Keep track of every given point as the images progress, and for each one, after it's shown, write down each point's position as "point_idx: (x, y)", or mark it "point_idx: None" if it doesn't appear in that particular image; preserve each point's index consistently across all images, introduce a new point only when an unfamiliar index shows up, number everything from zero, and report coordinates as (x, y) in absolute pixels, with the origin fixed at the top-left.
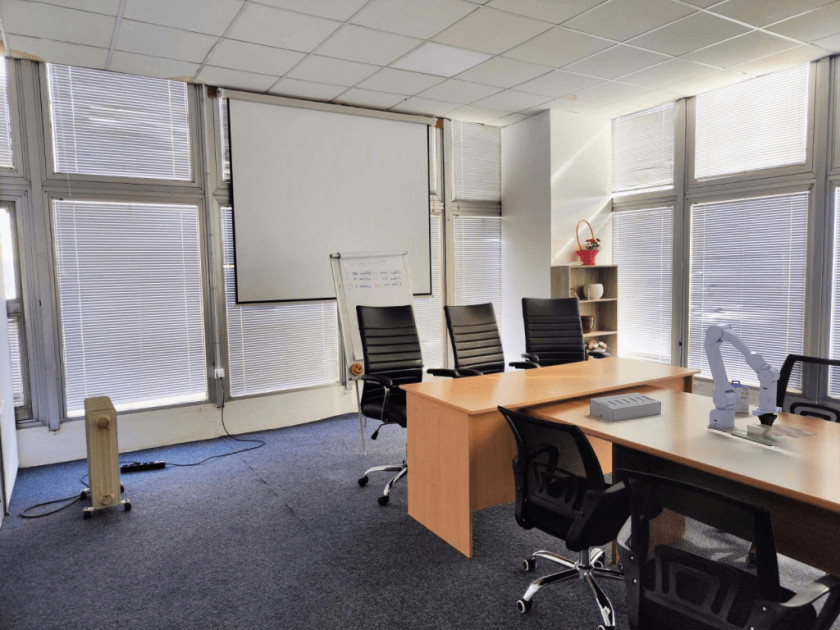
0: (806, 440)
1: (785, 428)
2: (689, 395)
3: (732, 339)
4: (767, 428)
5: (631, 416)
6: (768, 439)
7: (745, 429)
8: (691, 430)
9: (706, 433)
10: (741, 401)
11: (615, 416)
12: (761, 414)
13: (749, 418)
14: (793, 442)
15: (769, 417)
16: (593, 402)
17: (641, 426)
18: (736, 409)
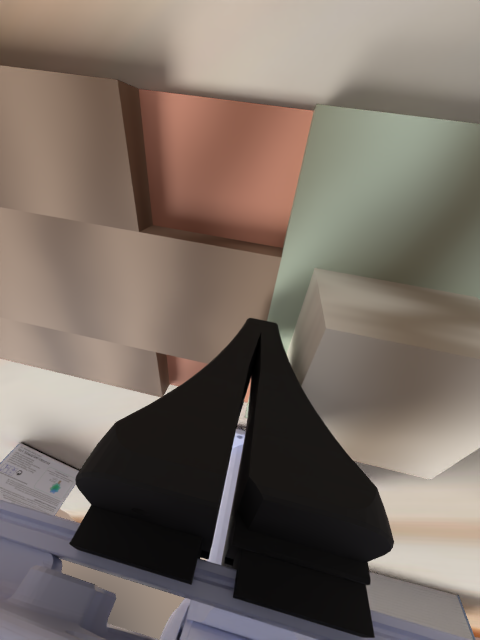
0: (3, 49)
1: (13, 303)
2: (71, 513)
3: None
4: (426, 340)
5: (381, 581)
6: (465, 240)
7: None
8: (414, 511)
9: (426, 484)
10: (5, 496)
11: (453, 612)
12: (419, 638)
13: (58, 431)
14: (193, 87)
15: (384, 520)
16: None
17: (475, 574)
18: (47, 469)
